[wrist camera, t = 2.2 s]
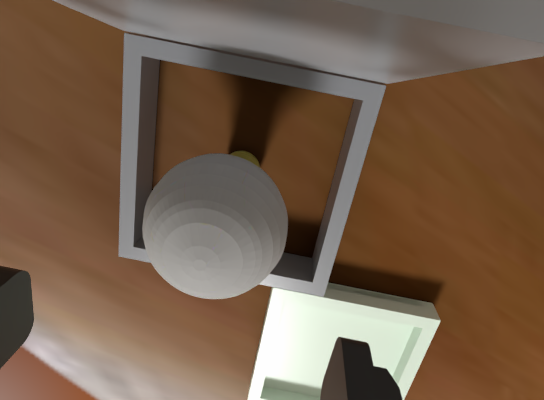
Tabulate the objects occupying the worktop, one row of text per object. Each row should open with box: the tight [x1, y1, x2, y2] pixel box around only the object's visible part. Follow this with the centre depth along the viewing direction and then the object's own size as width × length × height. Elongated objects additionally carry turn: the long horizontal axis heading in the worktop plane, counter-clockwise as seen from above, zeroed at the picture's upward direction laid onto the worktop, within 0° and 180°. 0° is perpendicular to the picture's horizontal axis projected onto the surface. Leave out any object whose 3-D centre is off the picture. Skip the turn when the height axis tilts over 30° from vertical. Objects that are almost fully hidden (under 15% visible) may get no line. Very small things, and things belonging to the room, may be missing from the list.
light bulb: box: [142, 151, 288, 299], centre depth 17 cm, size 5×6×10 cm
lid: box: [53, 0, 544, 84], centre depth 11 cm, size 12×12×1 cm
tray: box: [247, 282, 441, 400], centre depth 26 cm, size 10×10×2 cm
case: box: [119, 33, 386, 297], centre depth 21 cm, size 12×12×2 cm
